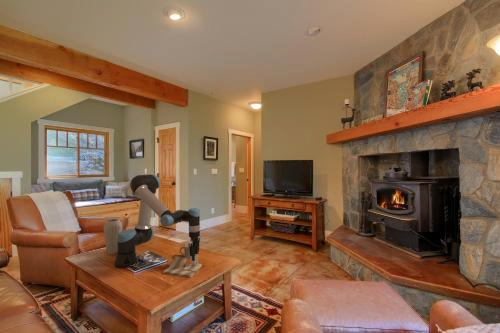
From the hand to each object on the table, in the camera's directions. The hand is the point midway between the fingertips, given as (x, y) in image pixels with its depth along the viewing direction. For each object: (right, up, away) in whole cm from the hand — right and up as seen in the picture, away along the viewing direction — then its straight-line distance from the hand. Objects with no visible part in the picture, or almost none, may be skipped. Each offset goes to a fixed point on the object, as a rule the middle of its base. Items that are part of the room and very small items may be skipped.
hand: (194, 264), depth 165 cm
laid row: (-7, -3, -4) cm, 8 cm away
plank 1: (-11, 0, 0) cm, 11 cm away
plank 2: (-1, -2, -2) cm, 3 cm away
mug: (-11, -3, +18) cm, 21 cm away
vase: (-73, -1, +26) cm, 77 cm away
